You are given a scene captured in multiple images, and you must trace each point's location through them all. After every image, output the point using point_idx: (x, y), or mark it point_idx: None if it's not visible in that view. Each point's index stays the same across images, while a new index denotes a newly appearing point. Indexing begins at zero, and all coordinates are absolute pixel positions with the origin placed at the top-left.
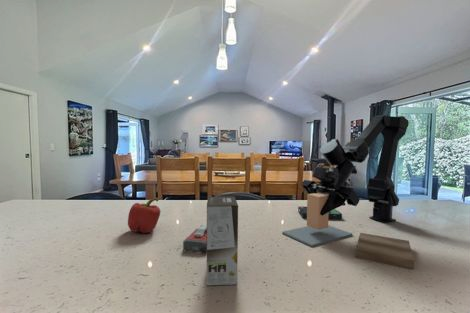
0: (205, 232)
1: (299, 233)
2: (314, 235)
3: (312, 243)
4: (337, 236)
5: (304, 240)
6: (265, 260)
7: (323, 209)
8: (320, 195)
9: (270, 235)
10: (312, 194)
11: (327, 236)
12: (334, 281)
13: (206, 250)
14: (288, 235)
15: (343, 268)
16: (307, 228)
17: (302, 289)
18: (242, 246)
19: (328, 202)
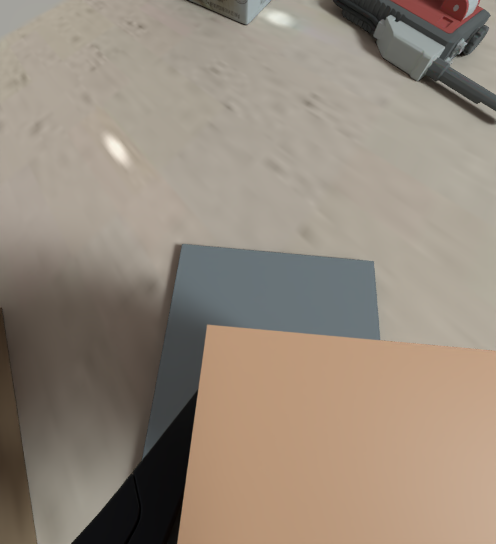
0: (429, 2)
1: (311, 312)
2: None
3: (188, 259)
4: None
5: (232, 258)
6: (213, 79)
7: (189, 405)
8: (287, 521)
9: (373, 210)
10: (477, 441)
11: None
12: (12, 121)
13: (336, 2)
14: (326, 258)
15: (14, 195)
16: None
17: (61, 55)
18: (329, 87)
19: (116, 512)
